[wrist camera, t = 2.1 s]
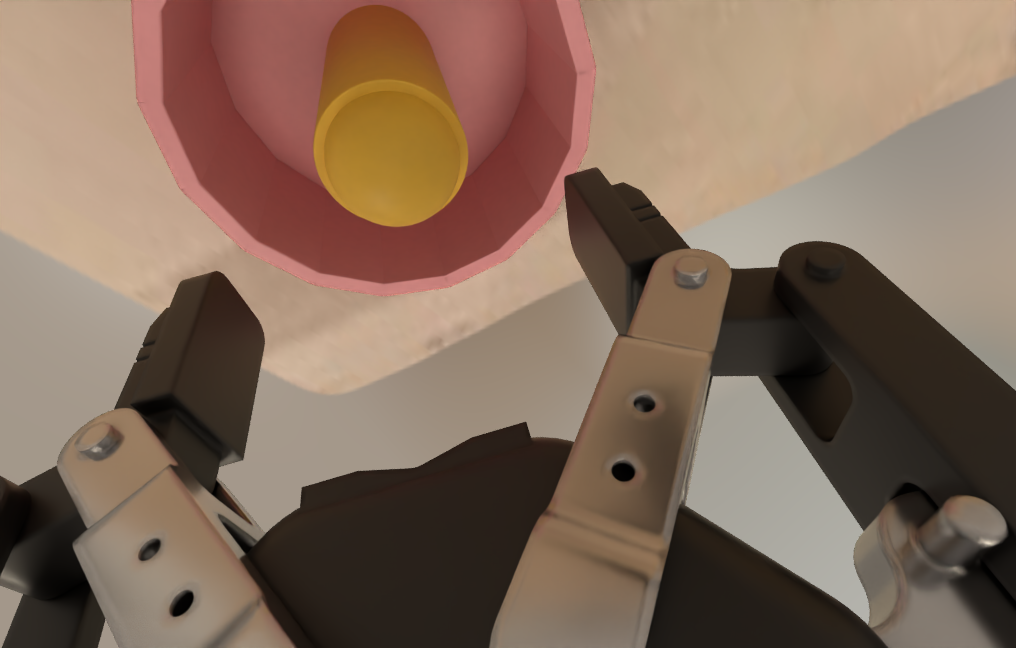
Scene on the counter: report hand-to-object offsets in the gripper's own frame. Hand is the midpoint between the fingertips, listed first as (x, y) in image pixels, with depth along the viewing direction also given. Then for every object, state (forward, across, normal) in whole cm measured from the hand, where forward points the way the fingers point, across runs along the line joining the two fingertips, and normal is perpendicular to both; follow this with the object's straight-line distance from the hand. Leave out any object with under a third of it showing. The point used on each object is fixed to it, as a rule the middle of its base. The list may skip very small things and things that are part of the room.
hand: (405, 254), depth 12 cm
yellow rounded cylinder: (+14, 0, 0) cm, 14 cm away
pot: (+15, 0, 0) cm, 15 cm away
